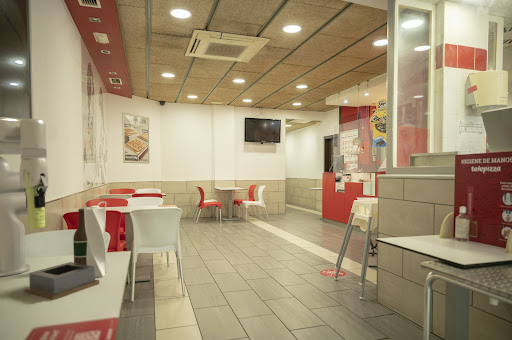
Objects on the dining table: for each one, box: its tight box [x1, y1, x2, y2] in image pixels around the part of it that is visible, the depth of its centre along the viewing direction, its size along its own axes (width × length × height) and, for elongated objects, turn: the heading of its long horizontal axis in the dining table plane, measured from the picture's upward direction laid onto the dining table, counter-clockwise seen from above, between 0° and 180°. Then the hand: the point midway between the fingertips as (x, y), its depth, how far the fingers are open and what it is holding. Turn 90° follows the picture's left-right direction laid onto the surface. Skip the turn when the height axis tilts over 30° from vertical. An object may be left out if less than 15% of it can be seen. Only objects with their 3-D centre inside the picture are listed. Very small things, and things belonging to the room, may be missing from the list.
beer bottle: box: [72, 207, 88, 265], centre depth 139 cm, size 8×8×24 cm
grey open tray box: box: [24, 261, 100, 301], centre depth 113 cm, size 16×16×6 cm
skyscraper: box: [84, 200, 108, 278], centre depth 126 cm, size 8×8×28 cm
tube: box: [26, 172, 46, 230], centre depth 115 cm, size 6×5×20 cm
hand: (35, 206), depth 115 cm, fingers closed on tube, 4 cm apart
